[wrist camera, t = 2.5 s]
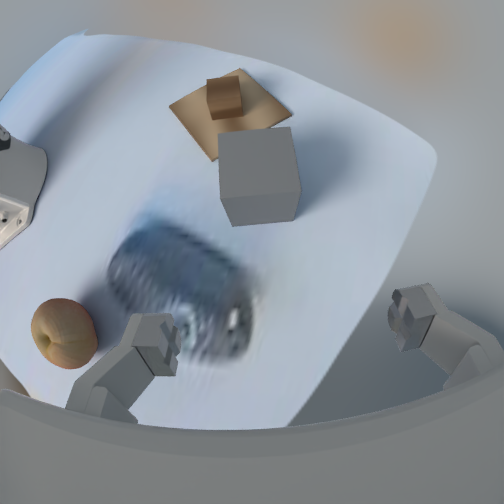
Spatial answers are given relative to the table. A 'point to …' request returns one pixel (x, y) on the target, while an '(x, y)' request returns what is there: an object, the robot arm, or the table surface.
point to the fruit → (64, 333)
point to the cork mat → (206, 130)
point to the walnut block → (224, 97)
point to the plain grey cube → (258, 176)
